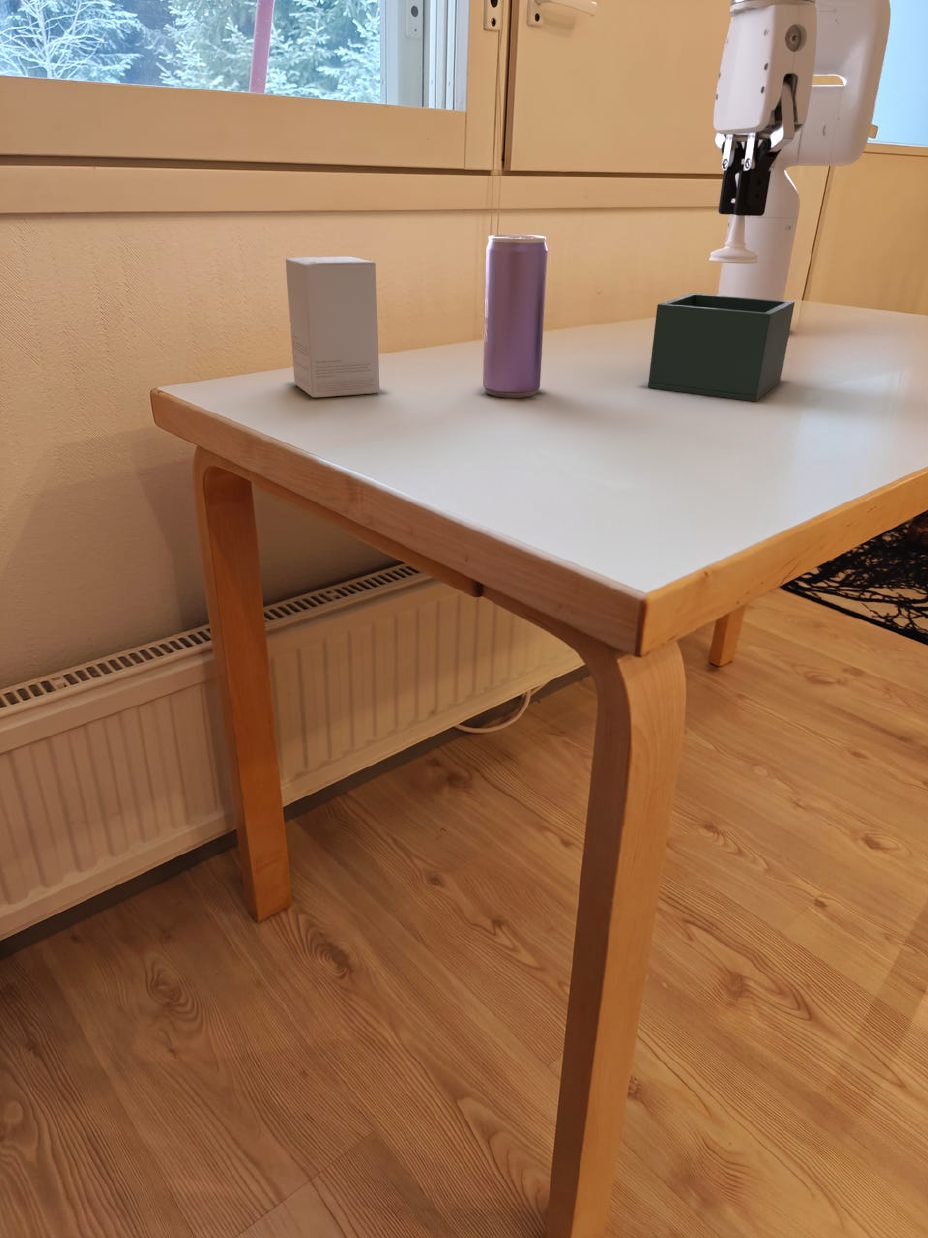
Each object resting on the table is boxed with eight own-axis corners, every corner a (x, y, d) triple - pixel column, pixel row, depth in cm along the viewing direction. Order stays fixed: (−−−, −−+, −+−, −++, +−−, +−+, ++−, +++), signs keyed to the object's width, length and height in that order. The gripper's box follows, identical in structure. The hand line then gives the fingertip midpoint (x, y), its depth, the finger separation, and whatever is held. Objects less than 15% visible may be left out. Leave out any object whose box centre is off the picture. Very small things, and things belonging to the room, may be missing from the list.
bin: (680, 369, 103) (690, 293, 99) (780, 381, 98) (794, 301, 94) (647, 387, 94) (657, 304, 90) (755, 401, 89) (770, 313, 85)
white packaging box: (381, 393, 89) (378, 261, 83) (311, 399, 86) (302, 262, 80) (359, 379, 95) (354, 254, 89) (292, 384, 92) (283, 256, 86)
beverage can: (541, 399, 88) (550, 238, 81) (482, 398, 88) (486, 237, 81) (537, 386, 93) (546, 234, 86) (482, 385, 93) (486, 233, 86)
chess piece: (699, 260, 90) (714, 151, 85) (724, 258, 93) (739, 152, 88) (742, 264, 87) (759, 150, 82) (766, 261, 90) (784, 152, 85)
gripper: (865, -20, 73) (820, 218, 82) (761, 11, 87) (732, 212, 95) (788, -27, 72) (750, 217, 80) (694, 5, 85) (670, 211, 94)
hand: (740, 213), depth 88 cm, fingers closed on chess piece
